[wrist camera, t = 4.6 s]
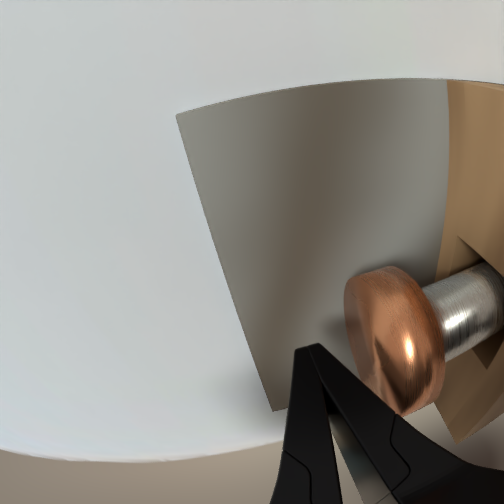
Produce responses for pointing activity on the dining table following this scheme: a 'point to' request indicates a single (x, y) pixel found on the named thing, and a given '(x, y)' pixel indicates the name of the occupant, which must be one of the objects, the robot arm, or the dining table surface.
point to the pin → (418, 328)
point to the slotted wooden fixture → (353, 213)
